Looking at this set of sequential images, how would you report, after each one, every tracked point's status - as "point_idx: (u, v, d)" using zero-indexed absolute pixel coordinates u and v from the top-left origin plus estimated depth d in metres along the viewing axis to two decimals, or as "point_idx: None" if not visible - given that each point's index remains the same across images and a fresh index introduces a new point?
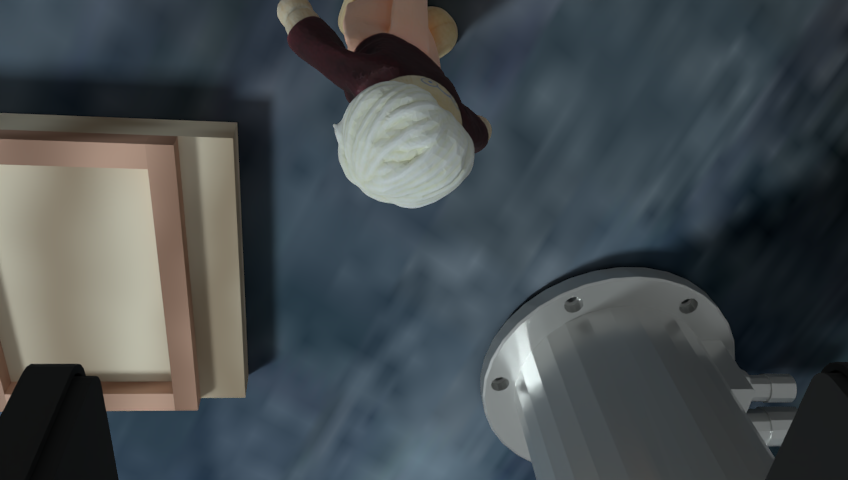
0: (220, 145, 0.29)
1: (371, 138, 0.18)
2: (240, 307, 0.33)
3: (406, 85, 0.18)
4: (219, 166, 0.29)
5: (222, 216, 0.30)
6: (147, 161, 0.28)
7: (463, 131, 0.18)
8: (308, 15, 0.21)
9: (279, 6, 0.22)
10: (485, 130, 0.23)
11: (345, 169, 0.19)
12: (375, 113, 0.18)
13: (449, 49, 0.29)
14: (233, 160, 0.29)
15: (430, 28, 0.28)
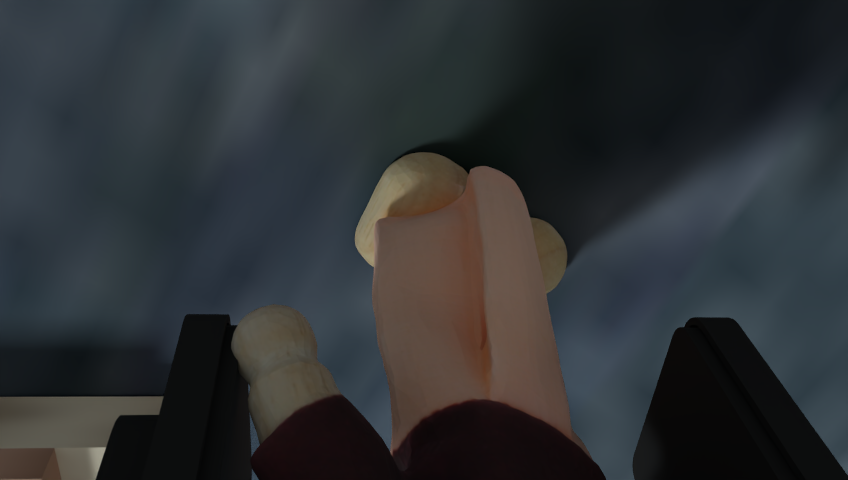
0: None
1: None
2: None
3: None
4: None
5: None
6: None
7: None
8: (307, 397, 0.08)
9: (236, 341, 0.09)
10: None
11: None
12: None
13: None
14: None
15: None
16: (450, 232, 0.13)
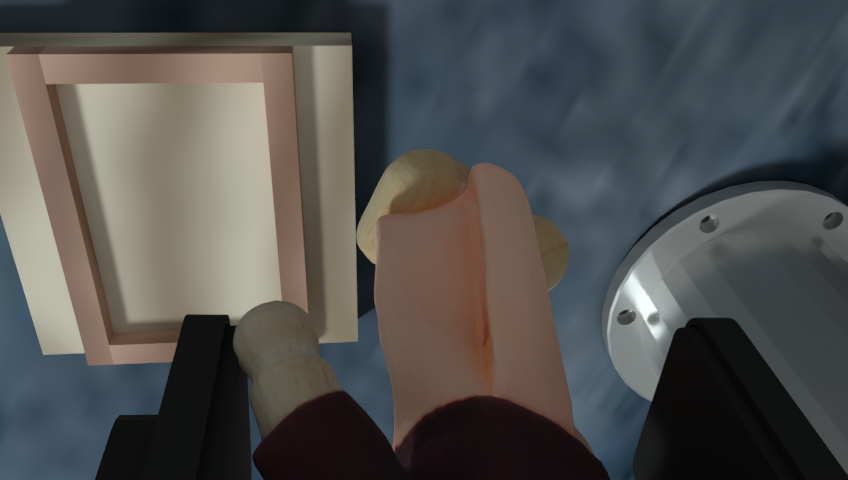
0: (338, 54, 0.26)
1: None
2: (355, 240, 0.30)
3: None
4: (336, 79, 0.27)
5: (338, 136, 0.28)
6: (263, 73, 0.26)
7: None
8: (310, 392, 0.08)
9: (238, 337, 0.09)
10: None
11: None
12: None
13: (553, 287, 0.16)
14: (351, 71, 0.27)
15: None
16: (452, 230, 0.13)
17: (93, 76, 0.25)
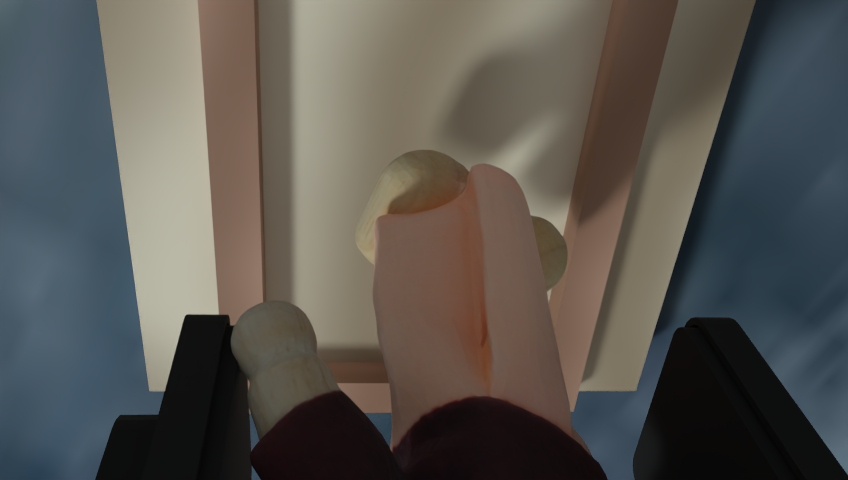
0: None
1: None
2: (681, 232, 0.19)
3: None
4: None
5: (715, 50, 0.16)
6: None
7: None
8: (307, 392, 0.08)
9: (236, 337, 0.09)
10: None
11: None
12: None
13: (551, 288, 0.16)
14: None
15: None
16: (451, 230, 0.13)
17: None
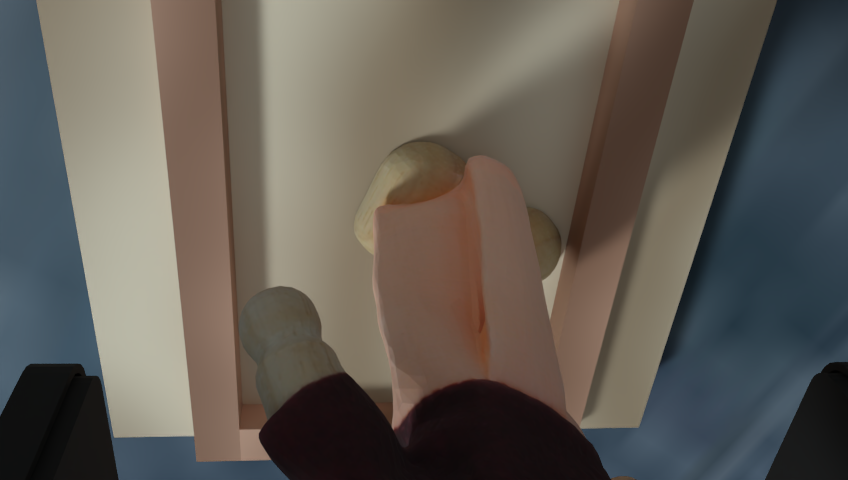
0: None
1: None
2: (689, 261, 0.17)
3: None
4: None
5: (728, 68, 0.15)
6: None
7: None
8: (314, 374, 0.09)
9: (244, 321, 0.09)
10: None
11: None
12: None
13: (545, 278, 0.16)
14: None
15: None
16: (449, 220, 0.13)
17: None
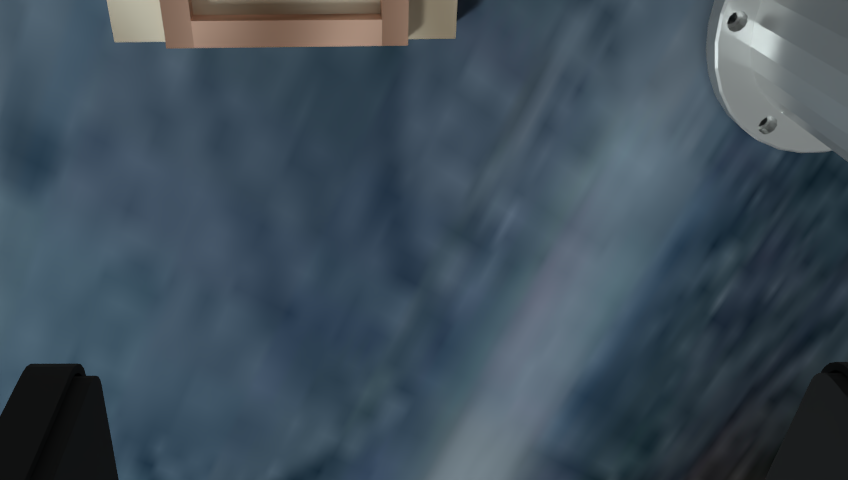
0: None
1: None
2: None
3: None
4: None
5: None
6: None
7: None
8: None
9: None
10: None
11: None
12: None
13: None
14: None
15: None
16: None
17: None
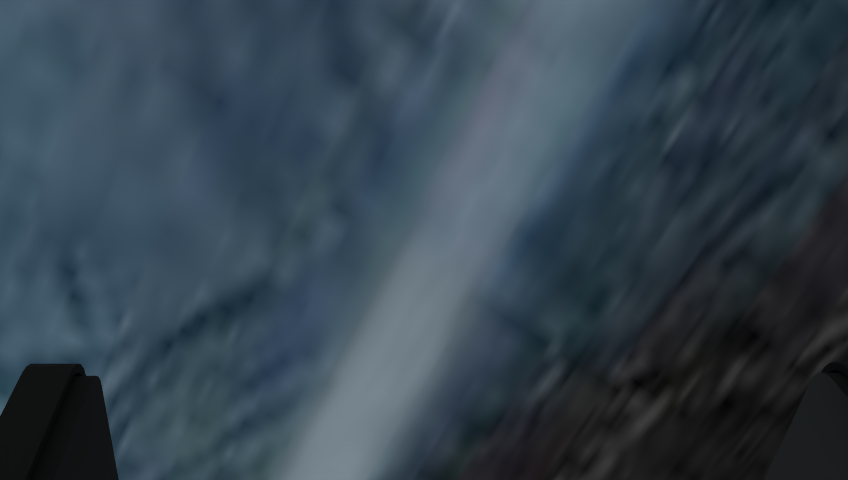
0: None
1: None
2: None
3: None
4: None
5: None
6: None
7: None
8: None
9: None
10: None
11: None
12: None
13: None
14: None
15: None
16: None
17: None
